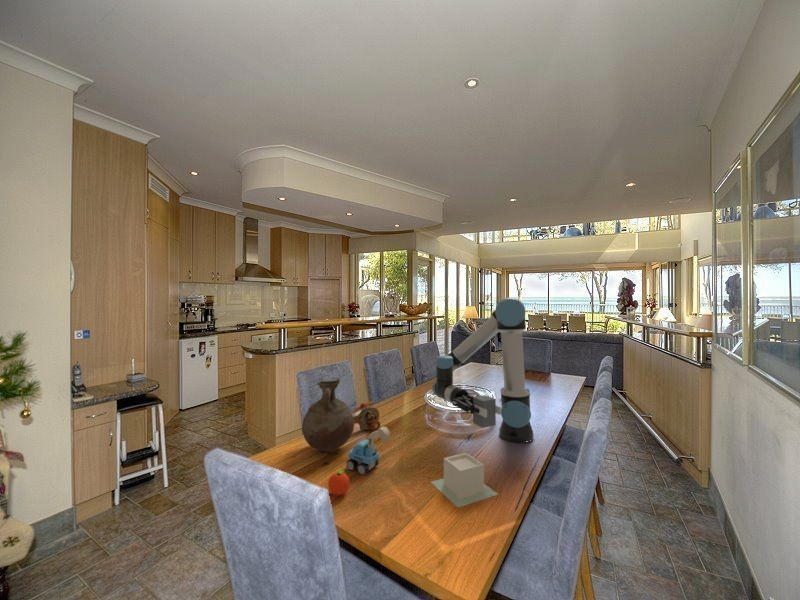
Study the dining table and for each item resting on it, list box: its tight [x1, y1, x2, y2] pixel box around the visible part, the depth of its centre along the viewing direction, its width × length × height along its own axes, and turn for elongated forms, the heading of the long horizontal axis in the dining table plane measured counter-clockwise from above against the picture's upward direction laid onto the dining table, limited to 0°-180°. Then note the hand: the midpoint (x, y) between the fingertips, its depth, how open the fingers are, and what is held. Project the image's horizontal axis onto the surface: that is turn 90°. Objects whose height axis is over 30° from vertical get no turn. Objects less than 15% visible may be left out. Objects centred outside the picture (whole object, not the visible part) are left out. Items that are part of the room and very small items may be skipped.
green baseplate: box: [430, 477, 499, 508], centre depth 115 cm, size 16×16×1 cm
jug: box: [301, 377, 355, 455], centre depth 146 cm, size 22×22×30 cm
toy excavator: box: [345, 426, 391, 476], centre depth 129 cm, size 9×17×17 cm, turn 58°
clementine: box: [327, 470, 351, 497], centre depth 114 cm, size 8×7×7 cm
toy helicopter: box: [352, 400, 381, 432], centre depth 166 cm, size 8×21×14 cm, turn 122°
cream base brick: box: [443, 452, 485, 499], centre depth 115 cm, size 10×10×9 cm
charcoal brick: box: [472, 394, 497, 429], centre depth 133 cm, size 6×6×10 cm
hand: (493, 412), depth 128 cm, fingers closed on charcoal brick, 6 cm apart
